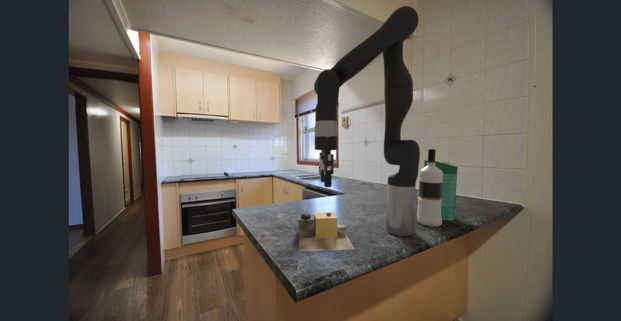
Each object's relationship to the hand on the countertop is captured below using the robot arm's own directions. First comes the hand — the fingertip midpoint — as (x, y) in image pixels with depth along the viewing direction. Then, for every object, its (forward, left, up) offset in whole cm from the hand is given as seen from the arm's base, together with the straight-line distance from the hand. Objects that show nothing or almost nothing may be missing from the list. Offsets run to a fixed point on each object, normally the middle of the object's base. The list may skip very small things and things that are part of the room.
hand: (325, 184), depth 69 cm
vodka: (-44, -10, -18) cm, 49 cm away
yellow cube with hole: (0, 0, -17) cm, 17 cm away
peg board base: (+1, +3, -18) cm, 18 cm away
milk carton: (-53, -17, -18) cm, 58 cm away
